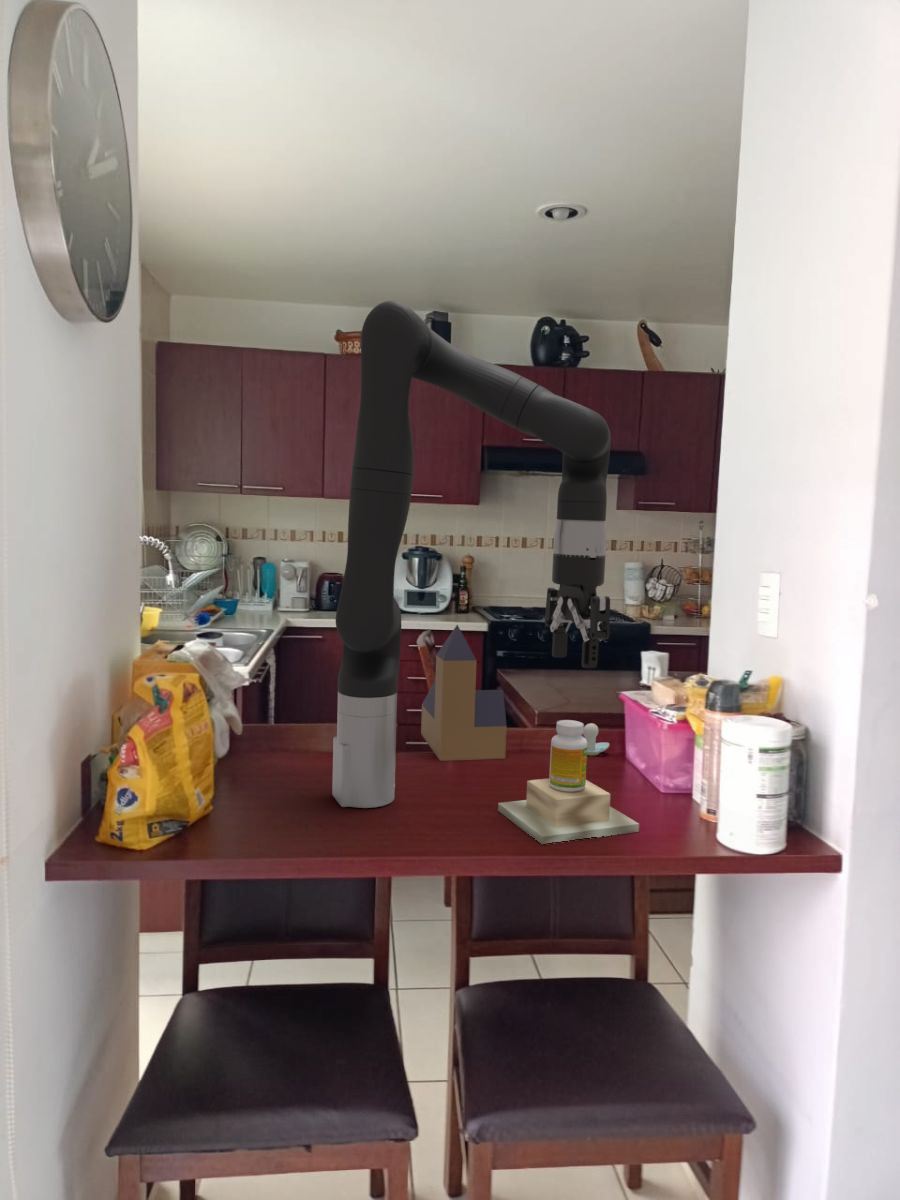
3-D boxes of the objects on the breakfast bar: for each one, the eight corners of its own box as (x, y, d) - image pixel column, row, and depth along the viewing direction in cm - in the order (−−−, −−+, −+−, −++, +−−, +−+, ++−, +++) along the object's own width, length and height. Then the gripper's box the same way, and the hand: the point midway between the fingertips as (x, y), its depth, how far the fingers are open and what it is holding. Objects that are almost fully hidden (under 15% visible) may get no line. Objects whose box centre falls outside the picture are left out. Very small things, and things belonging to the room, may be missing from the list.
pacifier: (566, 749, 163) (572, 757, 157) (568, 718, 163) (574, 724, 157) (603, 749, 164) (610, 757, 158) (604, 718, 163) (612, 725, 157)
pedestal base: (541, 845, 114) (543, 808, 114) (498, 810, 127) (499, 777, 126) (638, 831, 120) (640, 797, 120) (587, 800, 133) (589, 768, 133)
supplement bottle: (587, 793, 121) (591, 728, 120) (550, 792, 121) (554, 726, 120) (582, 781, 126) (585, 719, 125) (547, 780, 126) (550, 717, 125)
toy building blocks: (440, 761, 152) (444, 626, 149) (421, 734, 170) (424, 613, 167) (505, 758, 155) (510, 626, 152) (479, 732, 173) (483, 614, 170)
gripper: (533, 549, 125) (528, 654, 126) (582, 554, 112) (576, 672, 113) (576, 549, 128) (571, 653, 129) (629, 555, 114) (622, 670, 116)
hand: (573, 662), depth 121 cm, fingers open, 8 cm apart
